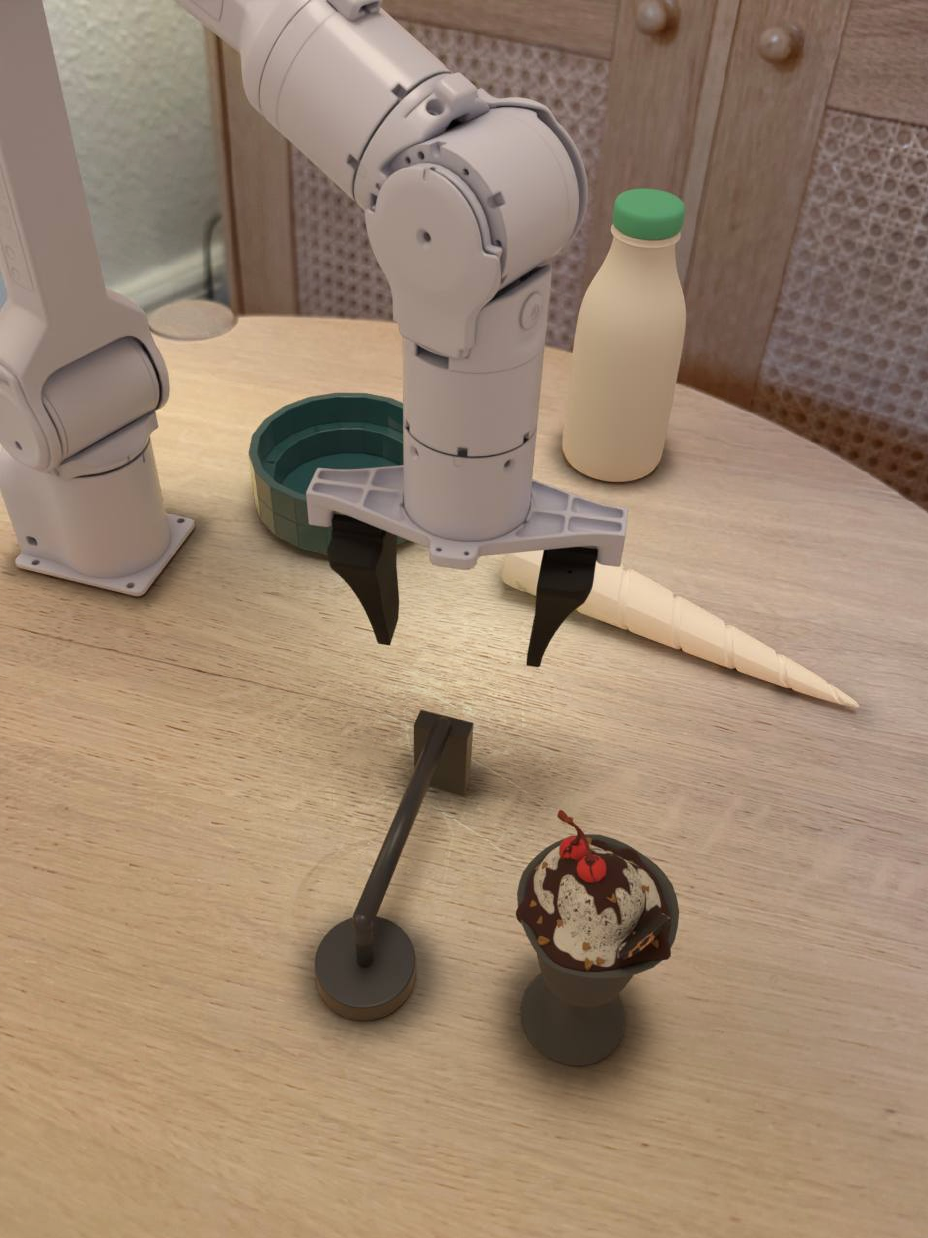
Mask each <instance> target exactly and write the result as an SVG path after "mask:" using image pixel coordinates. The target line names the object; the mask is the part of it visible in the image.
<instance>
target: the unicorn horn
mask: <svg viewBox="0 0 928 1238" xmlns="http://www.w3.org/2000/svg"><path fill="white" fill-rule="evenodd" d="M543 551H544V550H539V551H528V552H518V553H508V554H504V556H503V558H502V559H503V560H502V564H501V569H500V575H501V576H500V577H501V579H502V581H503V583H504V584H505V585H507V586H509V587H510V588H513V589H515V590H518V591H521V592H523V593H528V594H530V595H532V596H535V597H536V590H537V583H538V578H539V572H540V567H541V561H542V557H543ZM575 611H577V612H578V613H580V614H582V615H585V616H588V617H590V618H592V619H596V620H598V621H601V622H603V623H606V624H609V625H611V626H614V627H617V628H620V629H622V630H625V631H627V630H628V631H629V632H631V633H633V634H635V635H638V636H640V637H643V638H646V639H648V640H651V641H654V642H656V643H659V644H662V645H665V646H667V647H670V648H673V649H675V650H681V649H682V652H684V653H686V654H689V655H691V656H695V657H697V658H699V659H702V660H705V661H707V662H710V663H713V664H716V665H718V666H722V667H725V668H727V669H730V670H733V669H735V670H737V672H739V673H742V674H743V675H744V674H745V675H747V676H751V677H752V678H756V679H759V680H762V681H765V682H768V683H771V684H773V685H777V686H780V687H781V688H782V687H783V688H786V689H792V690H793V691H795V692H798V693H800V694H803V695H806V696H810V697H813V698H816V699H819V700H822V701H826V702H830V703H833V704H837V705H841V706H847V707H852V708H860V707H861V706H860V705H859V703H858V702H857V701H856V700H855V699H854V698H852V697H851V696H849V695H848V694H847V693H845V692H844V691H843V690H841V689H839V688H837V686H835V685H833V684H831V683H828V682H827V681H826V680H825V679H824V678H823V677H821V676H819V675H817V674H816V673H814V672H812V671H811V670H809V669H807V668H806V667H804V666H802V665H800V664H799V663H797V662H796V661H794V660H792V659H791V658H789V657H788V656H786V655H784V654H783V653H777V652H776V650H775V649H774V648H772V647H770V646H768V645H767V644H765V643H763V642H761V641H760V640H759V639H756V638H755V637H753V636H751V635H749V634H747V633H746V632H744V631H743V630H741V629H739V628H737V627H736V626H734V625H731V624H726V623H725V621H724V620H723V619H721V618H720V617H718V616H716V615H714V614H713V613H711V612H709V611H708V610H705V609H704V608H702V607H700V606H698V605H697V604H695V603H694V602H692V601H689V599H686V598H684V597H683V596H681V595H676V596H674V593H673V591H672V590H670V589H668V588H667V587H665V586H664V585H661V584H659V583H658V582H656V581H654V580H652V579H650V578H649V577H647V576H645V575H643V574H641V573H640V572H638V571H636V570H634V569H632V568H628V569H627V570H626V569H624V564H623V563H621V565H620V567H615V566H608V565H602V564H599V563H598V562H597V560H596V566H595V574H594V581H593V587H592V590H591V592H590V594H589V596H588V597H587V599H586V601H585V602H584V604H582V605H581V606H580V607H578V608H577V609H576V610H575Z"/></svg>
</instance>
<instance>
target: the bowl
mask: <svg viewBox="0 0 928 1238" xmlns="http://www.w3.org/2000/svg"><path fill="white" fill-rule="evenodd" d="M248 459H249V460H248V462H249V467H250V475H251V483H252V489H253V497H254V503H255V507H256V509H257V513H258V516H259V518H260V520H261V522H262V523H263V525H265V526H266V527H267V528H268V530H269V531H270V532H271V533H272V534H273V535H274V536H275V537H277V538H278V539H280V540H283V541H285V542H286V543H288V544H290V545H292V546H294V547H296V548H298V549H301V550H305V551H309V552H314V553H318V554H322V555H326V556H327V548H328V545H329V543H330V540H331V538H332V535H331V532H332V530H333V529H332V525H331V526H329V527H322V526H315V525H310V524H309V519H308V508H307V497H306V492H307V489H308V487H309V485H310V483H311V481H312V478H313V476H314V474H315V472H316V470H317V468H326V469H345V470H348V469H365V468H377V467H389V466H401V465H404V454H403V401H400V400H396V399H395V398H392V397H388V396H383V395H379V394H378V395H377V394H372V393H368V392H331V393H326V394H319V395H313V396H308V397H305V398H302V399H299V400H297V401H294V402H291V403H288V404H285V405H284V406H282V407H280V408H279V409H277V410H276V411H274V412H273V413H272V414H270V415H268V416H266V417H265V418H264V419H263V420H262V422H261V423H260V424H259V426H258V427H257V428H256V430H255V431H254V432H253V433H252V434H251V439H250V444H249V447H248ZM405 542H409V540H407V539H404V538H402V537H399V536H398V537H397V546H399V545H401V544H404V543H405Z"/></svg>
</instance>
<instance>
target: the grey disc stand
mask: <svg viewBox="0 0 928 1238" xmlns="http://www.w3.org/2000/svg"><path fill="white" fill-rule="evenodd" d="M473 736H474V722H471V721H467V720H464V719H459V718H455V717H452V716H448V715H444V714H440V713H435V712H432V711H427V710H424V709H419V712H418V714H417V716H416V719H415V720H414V723H413V771H412V774H411V776H410V778H409V781H408V783H407V786H406V788H405V790H404V793H403V795H402V798H401V799H400V803H399V804H398V807H397V809H396V811H395V814H394V817H393V819H392V821H391V824H390V826H389V828H388V831H387V833H386V835H385V837H384V840H383V843H382V845H381V848H380V850H379V852H378V855H377V857H376V860H375V862H374V863H373V867H372V869H371V871H370V873H369V876H368V879H367V880H366V883H365V886H364V888H363V891H362V893H361V895H360V898H359V900H358V902H357V905H356V907H355V909H354V912H353V913H352V917H350V918H347V919H344V920H342V921H340V922H339V923H337V924H336V925H335V926H333V927H332V928H330V930H328V932H327V933H326V934H325V935H324V937H323V938H322V939H321V941H320V942H319V945H318V947H317V949H316V952H315V957H314V973H315V982H316V986H317V989H318V992H319V995H320V997H321V999H322V1001H323V1002H324V1003H325V1004H326V1005H327V1007H328V1008H330V1010H332V1011H333V1012H334V1013H336V1014H337V1015H339V1016H340V1017H343V1018H345V1019H348V1020H353V1021H359V1022H364V1021H365V1022H366V1021H367V1022H368V1021H375V1020H378V1019H381V1018H384V1017H387V1016H389V1015H390V1014H392V1013H394V1012H395V1011H396V1010H398V1009H399V1008H400V1007H401V1006H402V1005H403V1004H404V1003H405V1002H406V1001H407V999H408V998H409V996H410V994H411V993H412V990H413V988H414V985H415V981H416V951H415V947H414V944H413V942H412V940H411V938H410V937H409V935H408V934H407V933H406V931H405V930H404V929H403V928H401V926H400V925H398V924H397V923H395V922H394V921H392V920H390V919H388V918H384V917H381V916H378V913H379V911H380V908H381V906H382V903H383V901H384V898H385V896H386V893H387V891H388V888H389V886H390V884H391V881H392V878H393V876H394V874H395V871H396V868H397V866H398V863H399V861H400V860H401V859H400V858H401V856H402V853H403V852H404V851H403V850H404V849H405V846H406V843H407V841H408V839H409V836H410V834H411V831H412V828H413V826H414V825H415V821H416V818H417V816H418V814H419V811H420V809H421V806H422V804H423V801H424V799H425V797H426V793H427V791H428V789H429V787H431V788H435V789H439V790H441V791H446V792H450V793H454V794H458V795H461V796H464V795H465V794H466V792H467V790H468V786H469V783H470V782H471V773H472V755H473V754H472V753H473Z"/></svg>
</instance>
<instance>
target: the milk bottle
mask: <svg viewBox="0 0 928 1238" xmlns="http://www.w3.org/2000/svg"><path fill="white" fill-rule="evenodd" d="M685 214H686V206H685V203H684V201H682V199H681V198H679V197H678V196H677V195H675V194H673V193H671V192H668V191H664V190H660V189H655V188H634V189H629V190H626V191H624V192H621V193H620V194H619V195H617V196H616V198H615V201H614V203H613V209H612V217H611V220H612V224H611V227H610V232H611V235H612V237H613V238H612V242H611V245H610V248H609V250H608V253H607V255H606V256H605V259H604V261H603V263H602V265H601V266H600V268H599V269H598V271H597V272H596V274H595V275H594V277H593V279H592V281H591V282H590V283H589V285H588V286H587V289H586V291H585V294H584V296H583V299H582V301H581V303H580V308H579V312H578V316H577V321H576V328H575V334H574V339H573V347H572V354H571V363H570V364H571V365H570V370H569V379H568V386H567V387H568V388H567V396H566V405H565V414H564V423H563V432H562V440H561V441H562V445H561V448H562V453H563V455H564V457H565V459H566V461H567V462H568V463H569V465H571V467H572V468H573V469H575V470H576V471H578V472H579V473H581V474H583V475H585V476H587V477H588V478H589V477H590V478H593V479H594V480H595V479H596V480H600V481H604V482H613V483H621V482H624V483H625V482H631V481H636V480H638V479H642V478H644V477H646V476H648V475H649V474H651V473H652V472H653V471H654V470H655V469H656V467H657V466H658V465H659V463H660V462H661V460H662V456H663V451H664V448H665V443H666V437H667V432H668V428H669V422H670V418H671V412H672V408H673V402H674V398H675V397H674V396H675V391H676V386H677V381H678V376H679V371H680V365H681V360H682V354H683V348H684V343H685V342H684V341H685V334H686V327H687V306H686V300H685V296H684V290H683V287H682V283H681V280H680V276H679V273H678V268H677V262H676V261H677V260H676V245H677V243H678V242H679V241H680V240H681V236H682V234H681V231H682V229H683V226H684V221H685Z"/></svg>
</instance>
